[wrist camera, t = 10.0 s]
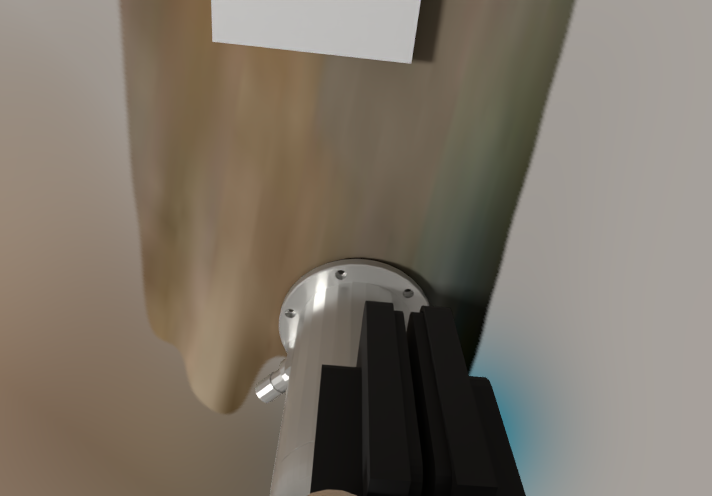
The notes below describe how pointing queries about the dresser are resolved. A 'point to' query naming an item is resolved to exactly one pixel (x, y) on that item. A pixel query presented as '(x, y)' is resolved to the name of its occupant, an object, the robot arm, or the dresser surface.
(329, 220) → the dresser surface
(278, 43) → the grey plank
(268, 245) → the dresser surface
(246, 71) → the dresser surface
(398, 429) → the robot arm
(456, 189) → the dresser surface
